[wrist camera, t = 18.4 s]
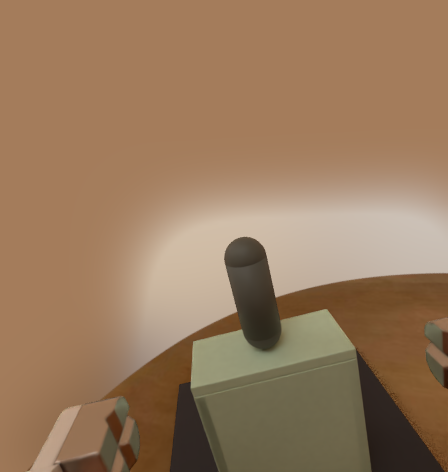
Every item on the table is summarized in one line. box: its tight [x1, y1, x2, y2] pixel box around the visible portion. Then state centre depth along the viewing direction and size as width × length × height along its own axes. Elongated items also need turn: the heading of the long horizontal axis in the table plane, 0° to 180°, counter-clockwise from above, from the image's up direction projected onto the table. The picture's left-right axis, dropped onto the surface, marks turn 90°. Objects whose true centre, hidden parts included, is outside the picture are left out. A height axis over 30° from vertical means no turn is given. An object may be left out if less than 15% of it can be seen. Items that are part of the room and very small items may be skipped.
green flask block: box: [191, 237, 372, 472], centre depth 17 cm, size 4×8×15 cm, turn 93°
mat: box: [170, 350, 445, 472], centre depth 22 cm, size 16×12×1 cm
